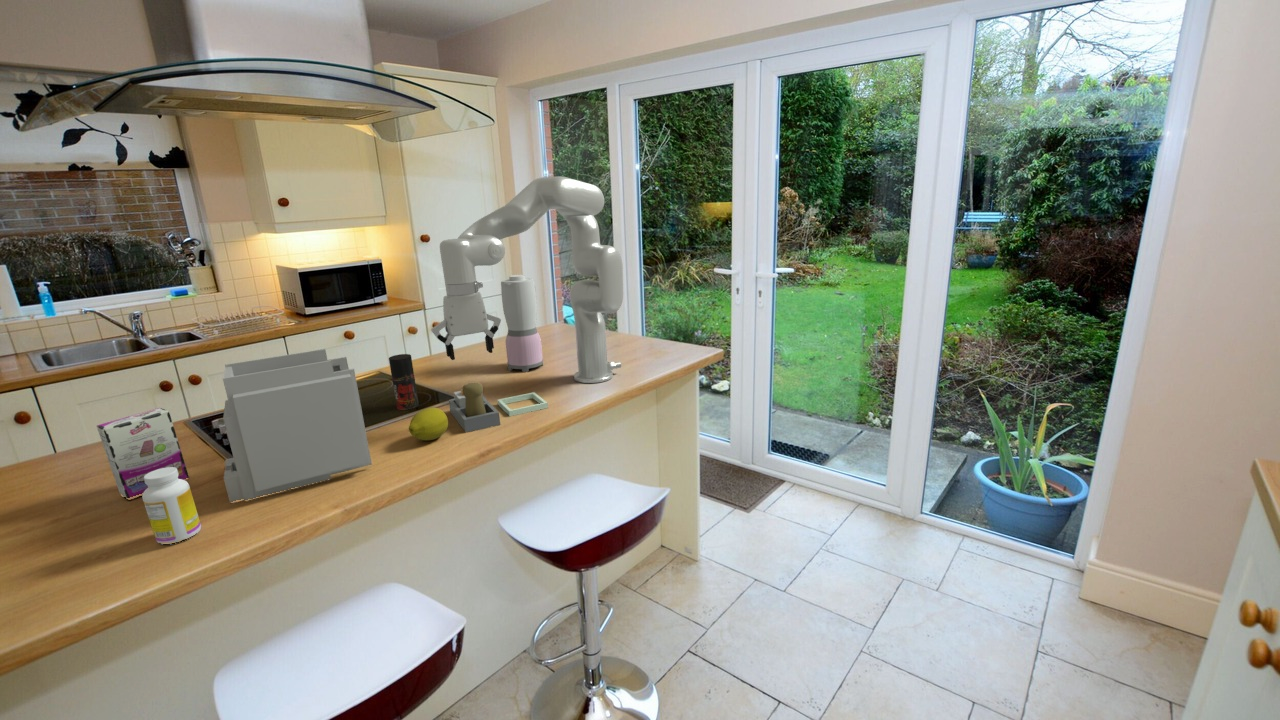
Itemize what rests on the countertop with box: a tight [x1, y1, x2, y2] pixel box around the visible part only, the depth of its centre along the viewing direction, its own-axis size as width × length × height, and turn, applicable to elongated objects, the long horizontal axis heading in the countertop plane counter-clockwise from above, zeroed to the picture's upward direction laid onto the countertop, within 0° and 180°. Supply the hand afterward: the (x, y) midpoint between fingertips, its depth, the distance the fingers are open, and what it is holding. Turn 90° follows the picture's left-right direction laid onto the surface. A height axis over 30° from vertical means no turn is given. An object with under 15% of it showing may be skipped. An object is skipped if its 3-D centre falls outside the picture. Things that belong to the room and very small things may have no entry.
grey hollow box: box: [448, 395, 501, 433], centre depth 157 cm, size 18×9×4 cm, turn 30°
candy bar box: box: [96, 407, 190, 498], centre depth 123 cm, size 11×5×16 cm, turn 148°
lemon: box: [408, 407, 449, 441], centre depth 143 cm, size 11×8×8 cm
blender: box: [500, 274, 544, 373], centre depth 199 cm, size 16×12×32 cm
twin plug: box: [453, 388, 484, 408], centre depth 160 cm, size 6×6×7 cm
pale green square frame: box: [497, 391, 549, 417], centre depth 164 cm, size 11×11×2 cm
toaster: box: [222, 348, 373, 503], centre depth 124 cm, size 17×27×26 cm, turn 123°
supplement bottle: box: [141, 467, 202, 544], centre depth 104 cm, size 7×7×13 cm
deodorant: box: [388, 353, 419, 411], centre depth 166 cm, size 6×6×15 cm
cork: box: [462, 382, 486, 418], centre depth 152 cm, size 6×6×11 cm
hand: (471, 355), depth 149 cm, fingers open, 9 cm apart
